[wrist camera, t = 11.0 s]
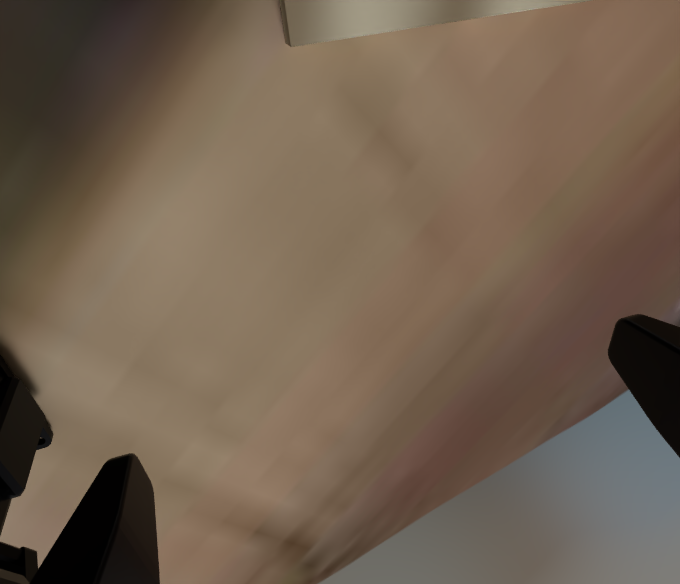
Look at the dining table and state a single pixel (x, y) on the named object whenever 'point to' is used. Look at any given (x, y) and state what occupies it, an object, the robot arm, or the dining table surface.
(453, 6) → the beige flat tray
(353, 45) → the dining table surface
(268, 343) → the dining table surface
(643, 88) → the dining table surface
